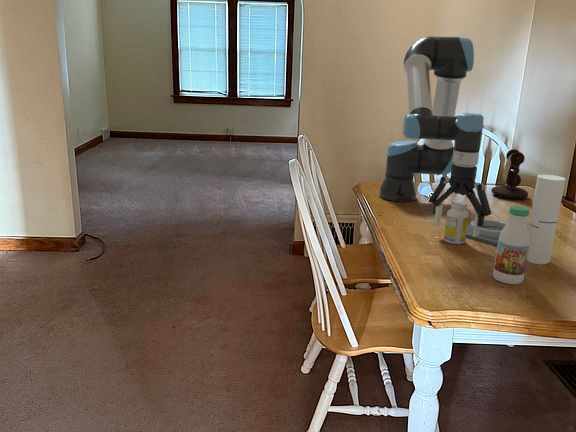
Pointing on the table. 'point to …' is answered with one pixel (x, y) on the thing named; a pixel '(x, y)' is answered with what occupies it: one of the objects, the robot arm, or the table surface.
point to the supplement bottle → (456, 223)
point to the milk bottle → (513, 248)
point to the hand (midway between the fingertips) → (455, 230)
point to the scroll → (511, 177)
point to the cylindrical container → (544, 217)
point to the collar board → (486, 231)
